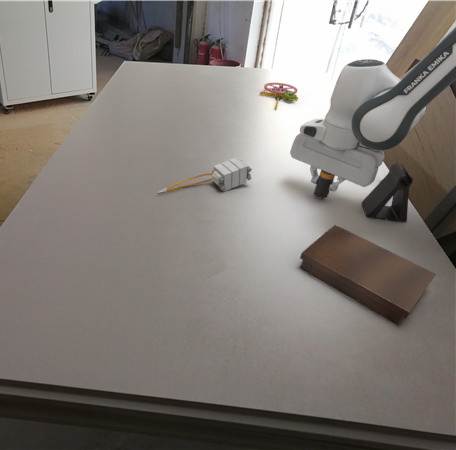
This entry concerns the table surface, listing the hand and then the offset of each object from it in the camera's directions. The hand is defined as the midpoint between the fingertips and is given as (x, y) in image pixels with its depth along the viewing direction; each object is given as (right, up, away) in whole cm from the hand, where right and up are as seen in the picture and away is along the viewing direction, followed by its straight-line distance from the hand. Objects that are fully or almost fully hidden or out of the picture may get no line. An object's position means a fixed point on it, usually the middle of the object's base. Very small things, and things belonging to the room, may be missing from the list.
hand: (323, 186), depth 100 cm
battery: (0, -2, +1) cm, 2 cm away
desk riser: (-2, -20, -21) cm, 29 cm away
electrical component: (-30, -1, +2) cm, 30 cm away
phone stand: (+13, -7, -2) cm, 15 cm away
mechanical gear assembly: (+7, +41, +61) cm, 74 cm away
